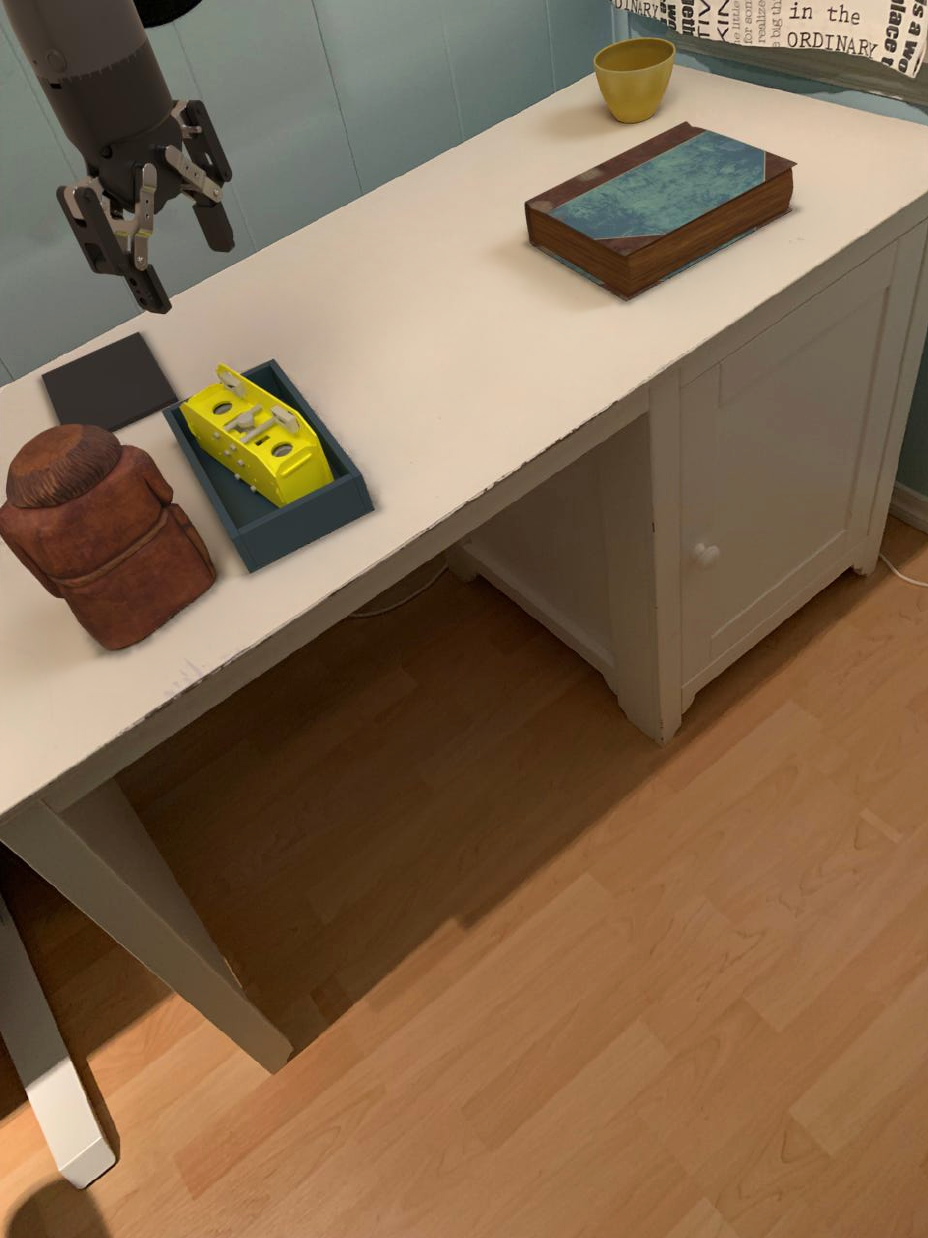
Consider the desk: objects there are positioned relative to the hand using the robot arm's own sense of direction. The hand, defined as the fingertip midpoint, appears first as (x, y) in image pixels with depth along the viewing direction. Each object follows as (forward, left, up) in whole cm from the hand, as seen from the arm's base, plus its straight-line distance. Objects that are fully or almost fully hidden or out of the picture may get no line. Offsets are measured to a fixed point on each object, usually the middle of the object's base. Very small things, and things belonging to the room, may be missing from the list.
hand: (193, 279), depth 68 cm
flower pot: (+65, +33, -20) cm, 75 cm away
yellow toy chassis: (-1, -1, -19) cm, 19 cm away
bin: (-1, -1, -19) cm, 19 cm away
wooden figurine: (-15, -10, -20) cm, 27 cm away
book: (+50, +8, -19) cm, 54 cm away
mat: (-11, +25, -19) cm, 33 cm away
